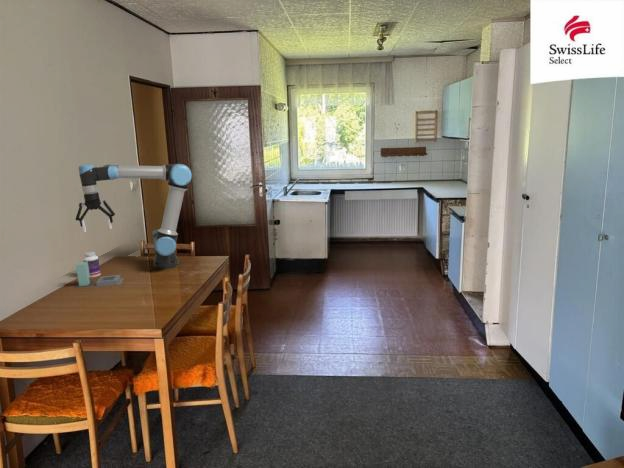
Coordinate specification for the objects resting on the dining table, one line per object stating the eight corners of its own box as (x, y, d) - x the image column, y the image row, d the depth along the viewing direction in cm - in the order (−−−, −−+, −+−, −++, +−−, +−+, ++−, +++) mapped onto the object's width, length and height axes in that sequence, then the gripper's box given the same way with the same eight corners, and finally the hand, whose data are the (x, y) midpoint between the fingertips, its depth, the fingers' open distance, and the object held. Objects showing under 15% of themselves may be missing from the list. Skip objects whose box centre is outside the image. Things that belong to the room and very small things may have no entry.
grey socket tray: (123, 279, 269) (123, 274, 268) (120, 285, 258) (119, 280, 257) (97, 282, 266) (97, 276, 265) (93, 288, 255) (92, 282, 255)
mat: (95, 282, 266) (95, 281, 266) (91, 287, 257) (91, 286, 257) (78, 283, 264) (77, 282, 264) (73, 288, 255) (73, 287, 255)
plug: (89, 282, 263) (86, 262, 260) (88, 285, 259) (84, 264, 256) (81, 283, 262) (77, 263, 260) (79, 286, 258) (75, 265, 255)
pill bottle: (103, 274, 281) (100, 250, 277) (96, 278, 273) (92, 254, 270) (90, 274, 281) (87, 251, 278) (83, 278, 274) (79, 254, 270)
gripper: (115, 189, 264) (122, 226, 269) (68, 194, 258) (75, 231, 263) (113, 191, 257) (120, 228, 262) (64, 196, 251) (72, 234, 256)
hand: (98, 230), depth 263 cm, fingers open, 13 cm apart
